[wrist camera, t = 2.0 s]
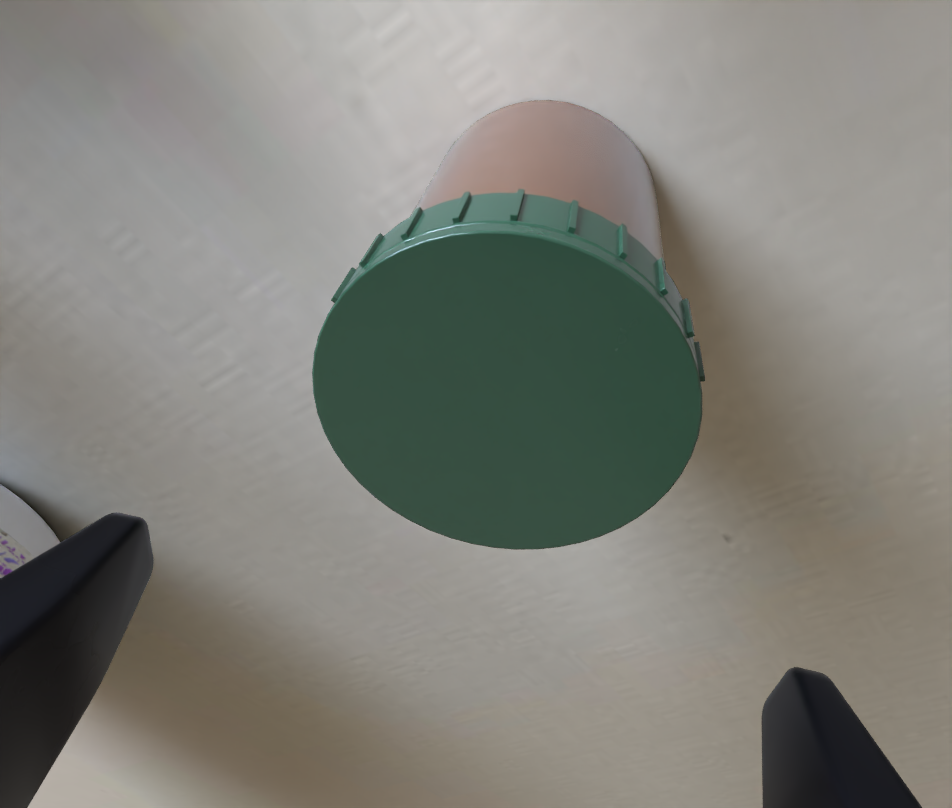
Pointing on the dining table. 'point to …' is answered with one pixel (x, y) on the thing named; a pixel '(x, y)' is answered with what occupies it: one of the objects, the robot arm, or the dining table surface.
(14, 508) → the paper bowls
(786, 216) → the dining table surface
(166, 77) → the dining table surface
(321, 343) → the jar lid
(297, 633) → the dining table surface
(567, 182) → the honey jar
